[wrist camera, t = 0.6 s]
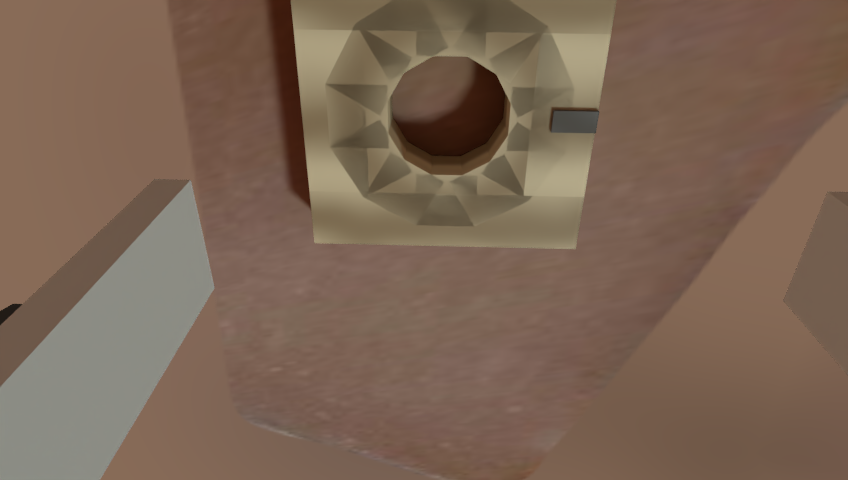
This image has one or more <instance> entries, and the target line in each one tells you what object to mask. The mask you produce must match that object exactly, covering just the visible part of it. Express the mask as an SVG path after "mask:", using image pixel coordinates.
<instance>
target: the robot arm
mask: <svg viewBox="0 0 848 480" xmlns="http://www.w3.org/2000/svg"><path fill="white" fill-rule="evenodd" d="M213 290H214V283H213V279H212V274H211V270H210V265H209V261H208V256H207V251H206V247H205V242H204V238H203V233H202V229H201V224H200V220H199V215H198V211H197V206H196V202H195V197H194V192H193V188H192V184H191V180H165V179H163V180H161V179H154V180H153V181H152V182H151V183H150V184H149V185H148V186H147V187H146V188H145V189H144V190H143V191H142V192H141V193H140V194H138V195H137V196H136V197H135V198H134V199H133V200H132V201H131V202H130V203H129V204H128V205H127V206H126V207H125V208H124V209H123V210H122V211H121V212H120V213H118V214H117V215H116V216H115V217H114V218H113V219H112V220H111V221H110V222H109V223H108V224H107V225H106V226H105V227H104V228H103V229H102V230H101V231H100V232H98V233H97V234H96V235H95V236H94V237H93V238H92V239H91V240H90V241H89V242H88V243H87V244H86V245H85V246H84V247H83V248H81V249H80V250H79V251H78V252H77V253H76V254H75V255H74V256H73V257H72V258H71V259H70V260H69V261H68V262H67V263H66V264H65V265H64V266H63V267H62V268H60V269H59V270H58V271H57V272H56V273H55V274H54V275H53V276H52V277H51V278H50V279H49V280H48V281H47V282H46V283H45V284H44V285H42V287H40V288H39V289H38V290H37V291H36V292H35V293H34V294H33V295H32V296H31V297H30V298H29V299H28V300H27V301H26V302H25V303H23V304H12V305H10V306H8V307H7V308H5V309H3V310H1V311H0V480H100V479H101V477H102V475H103V474H104V472H105V470H106V469H107V467H108V465H109V464H110V462H111V460H112V458H113V457H114V455H115V454H116V451H117V450H118V449H119V447H120V445H121V443H122V442H123V440H124V438H125V437H126V435H127V433H128V432H129V430H130V428H131V427H132V425H133V423H134V422H135V420H136V418H137V417H138V415H139V413H140V412H141V410H142V408H143V407H144V405H145V403H146V401H147V400H148V398H149V397H150V395H151V393H152V392H153V390H154V388H155V387H156V385H157V383H158V382H159V380H160V378H161V376H162V375H163V373H164V372H165V370H166V368H167V367H168V365H169V363H170V362H171V360H172V358H173V356H174V355H175V353H176V351H177V350H178V348H179V346H180V345H181V343H182V341H183V340H184V338H185V336H186V335H187V333H188V331H189V330H190V328H191V326H192V325H193V323H194V321H195V320H196V318H197V316H198V315H199V313H200V311H201V310H202V308H203V306H204V305H205V303H206V301H207V300H208V298H209V296H210V295H211V293H212V291H213ZM784 302H785V303H786V304H787V306H788V307H789V308H790V309H791V310H792V311H793V313H794V314H795V315H796V316H797V317H798V318H799V320H800V321H801V322H802V323H803V324H804V325H805V327H807V329H808V330H809V331H810V332H811V333H812V335H813V336H814V337H815V338H816V339H817V340H818V342H819V343H820V344H821V345H822V346H823V347H824V349H825V350H826V351H827V352H828V353H829V354H830V356H831V357H832V358H833V359H834V360H835V361H836V362H837V364H838V365H839V366H840V367H841V368H842V369H843V370H844V372H845V373H846V374H847V375H848V192H827V194H826V197H825V199H824V202H823V204H822V207H821V209H820V212H819V214H818V216H817V219H816V221H815V224H814V226H813V229H812V232H811V234H810V236H809V239H808V241H807V244H806V246H805V248H804V251H803V253H802V256H801V258H800V261H799V263H798V266H797V268H796V271H795V273H794V276H793V278H792V281H791V283H790V285H789V288H788V290H787V293H786V295H785V298H784Z"/></svg>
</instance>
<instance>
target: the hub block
mask: <svg viewBox="0 0 848 480" xmlns="http://www.w3.org/2000/svg"><path fill="white" fill-rule="evenodd" d="M615 6H616V0H291V9H292V19H293V29H294V39H295V49H296V60H297V70H298V80H299V90H300V100H301V111H302V121H303V131H304V141H305V151H306V162H307V172H308V182H309V192H310V202H311V213H312V223H313V233H314V243H336V244H379V245H423V246H466V247H509V248H553V249H576V243H577V237H578V231H579V225H580V219H581V213H582V207H583V200H584V194H585V188H586V182H587V176H588V170H589V164H590V158H591V152H592V146H593V140H594V134H595V133H596V128H597V122H598V116H599V111H598V109H599V103H600V97H601V91H602V85H603V79H604V73H605V67H606V61H607V55H608V49H609V43H610V36H611V30H612V24H613V18H614V12H615ZM432 56H464V57H469V58H471V59H472V60H474V61H476V62H477V63H479V64H480V65H482V66H484V67H485V68H487V69H488V70H490V71H492V72H493V73H495V74H496V75H497V77H498V79H499V81H500V83H501V85H502V87H503V89H504V91H505V100H504V112H503V119H502V121H501V122H500V124H499V125H498V127H497V128H496V130H495V131H494V133H493V134H492V136H491V137H490V139H489V140H488V141H487V143H486V144H484V145H482V146H480V147H478V148H476V149H474V150H472V151H470V152H468V153H466V154H464V155H462V156H432V155H430V154H428V153H427V152H425V151H423V150H421V149H420V148H418V147H416V146H414V145H413V144H411V143H409V142H407V140H406V139H405V137H404V135H403V134H402V132H401V130H400V129H399V127H398V125H397V124H396V122H395V120H394V119H393V117H392V93H393V91H394V89H395V88H396V86H397V84H398V82H399V80H400V79H401V77H402V75H403V73H404V72H406V71H408V70H410V69H411V68H413V67H415V66H417V65H418V64H420V63H422V62H424V61H425V60H427V59H429V58H431V57H432Z"/></svg>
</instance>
